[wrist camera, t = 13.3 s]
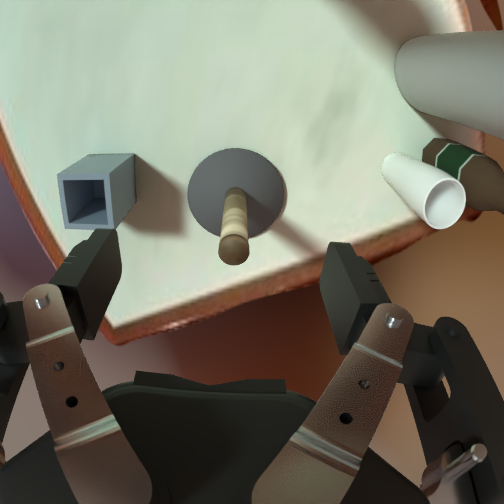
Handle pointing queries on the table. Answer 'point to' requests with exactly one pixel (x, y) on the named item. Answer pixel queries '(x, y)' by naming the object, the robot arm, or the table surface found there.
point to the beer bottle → (469, 172)
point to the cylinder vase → (456, 78)
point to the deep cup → (97, 191)
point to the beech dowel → (234, 228)
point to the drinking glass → (425, 189)
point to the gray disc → (235, 175)
